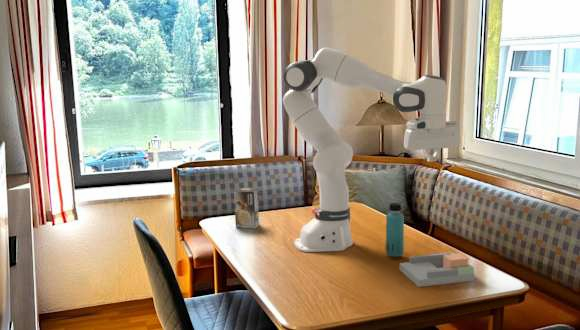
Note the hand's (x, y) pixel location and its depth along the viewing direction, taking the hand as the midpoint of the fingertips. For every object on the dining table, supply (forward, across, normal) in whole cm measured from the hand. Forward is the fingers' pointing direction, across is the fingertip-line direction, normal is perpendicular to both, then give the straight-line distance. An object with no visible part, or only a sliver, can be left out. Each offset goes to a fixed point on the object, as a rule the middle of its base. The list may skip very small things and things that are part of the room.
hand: (431, 161), depth 209 cm
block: (+32, +2, +23) cm, 39 cm away
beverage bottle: (+34, +14, +1) cm, 37 cm away
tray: (+34, +8, +20) cm, 40 cm away
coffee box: (+34, +59, -52) cm, 86 cm away
